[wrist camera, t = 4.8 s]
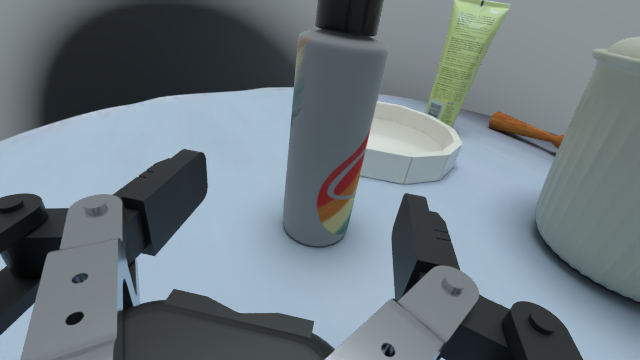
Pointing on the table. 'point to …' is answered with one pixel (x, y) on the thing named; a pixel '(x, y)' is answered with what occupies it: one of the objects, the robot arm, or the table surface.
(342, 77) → the lotion bottle
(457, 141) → the bowl
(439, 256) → the robot arm
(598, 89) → the canister
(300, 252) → the table surface
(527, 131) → the kendama
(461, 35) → the tube
